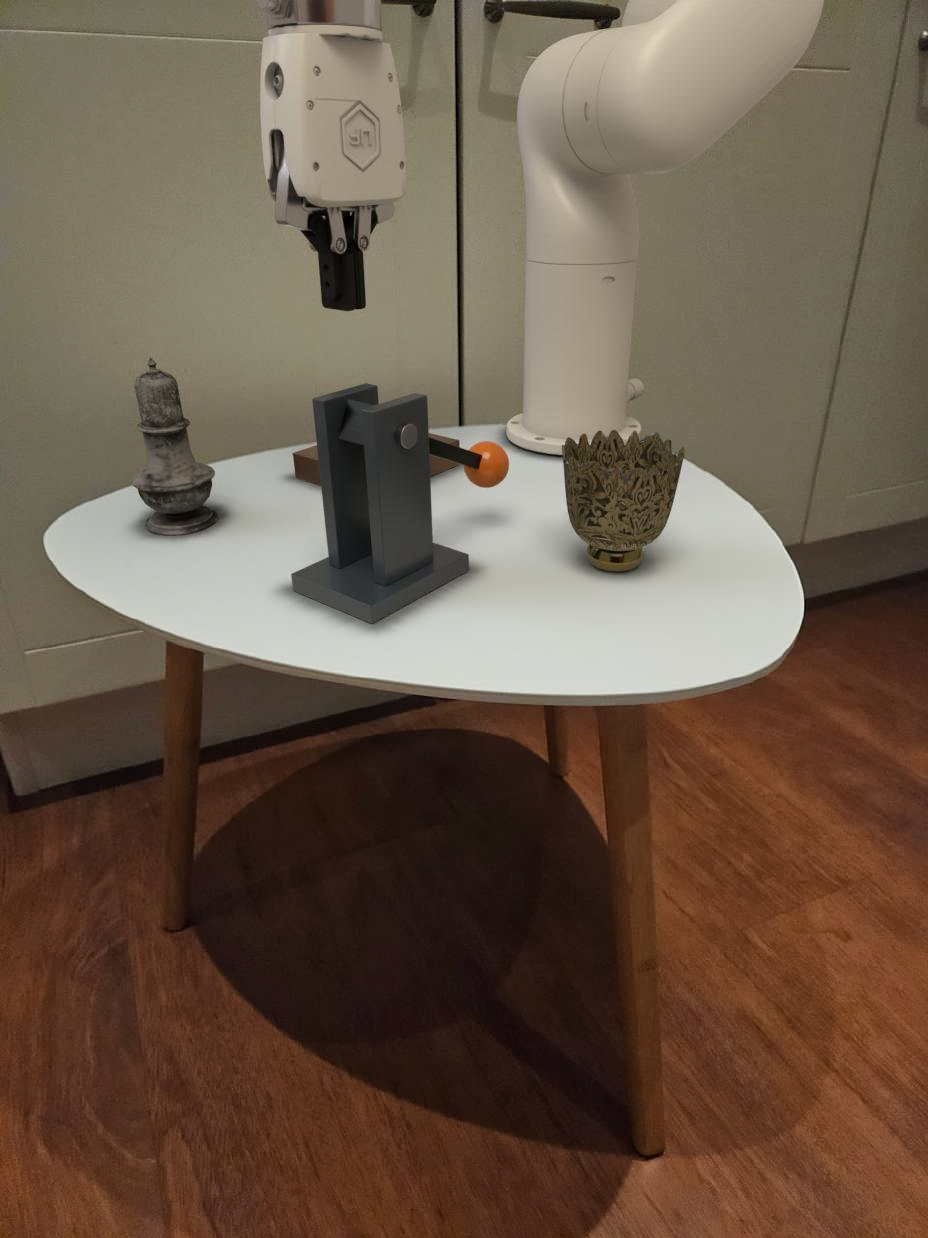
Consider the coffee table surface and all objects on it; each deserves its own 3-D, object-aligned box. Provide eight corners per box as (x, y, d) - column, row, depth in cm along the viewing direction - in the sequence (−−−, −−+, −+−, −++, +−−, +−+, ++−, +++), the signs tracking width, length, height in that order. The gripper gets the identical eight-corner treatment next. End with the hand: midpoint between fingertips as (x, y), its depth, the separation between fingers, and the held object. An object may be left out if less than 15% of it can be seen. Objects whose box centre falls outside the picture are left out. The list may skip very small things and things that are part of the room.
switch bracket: (391, 544, 60) (380, 373, 54) (469, 570, 56) (466, 389, 50) (292, 590, 54) (268, 403, 48) (372, 624, 50) (356, 425, 44)
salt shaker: (200, 539, 61) (168, 368, 55) (125, 534, 62) (87, 366, 56) (235, 508, 66) (210, 349, 60) (165, 504, 67) (134, 347, 61)
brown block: (385, 445, 79) (383, 402, 77) (460, 464, 74) (459, 419, 72) (295, 477, 72) (289, 431, 70) (371, 501, 67) (367, 451, 65)
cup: (689, 583, 54) (704, 460, 50) (575, 593, 53) (582, 469, 49) (647, 536, 60) (658, 424, 56) (546, 545, 59) (549, 431, 55)
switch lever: (475, 485, 62) (487, 442, 62) (510, 495, 60) (523, 450, 60) (329, 444, 50) (342, 390, 49) (368, 454, 48) (382, 398, 48)
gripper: (272, -5, 49) (302, 327, 58) (441, 22, 59) (445, 301, 68) (194, 8, 53) (233, 316, 62) (365, 30, 63) (377, 292, 72)
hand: (344, 307), depth 65 cm, fingers closed
